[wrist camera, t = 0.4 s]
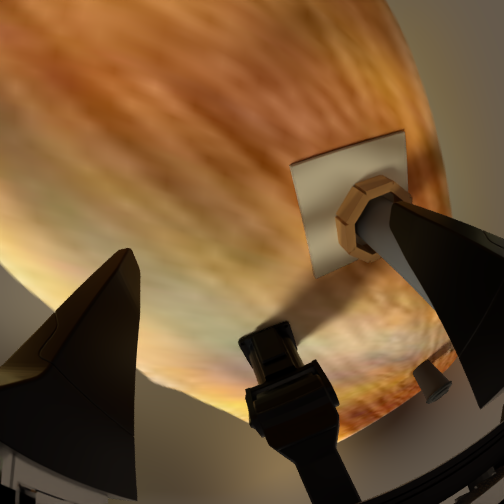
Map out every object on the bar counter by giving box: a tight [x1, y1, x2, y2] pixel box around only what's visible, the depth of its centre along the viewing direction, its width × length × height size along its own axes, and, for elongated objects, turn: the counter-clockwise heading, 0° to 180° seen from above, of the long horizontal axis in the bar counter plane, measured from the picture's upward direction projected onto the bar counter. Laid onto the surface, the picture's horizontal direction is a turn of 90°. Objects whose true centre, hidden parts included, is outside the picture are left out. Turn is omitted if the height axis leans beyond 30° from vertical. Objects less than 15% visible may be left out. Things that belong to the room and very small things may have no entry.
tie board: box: [289, 131, 412, 279], centre depth 27 cm, size 13×13×2 cm
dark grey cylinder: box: [354, 195, 435, 310], centre depth 23 cm, size 5×5×13 cm
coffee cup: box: [413, 360, 452, 404], centre depth 55 cm, size 8×8×10 cm
